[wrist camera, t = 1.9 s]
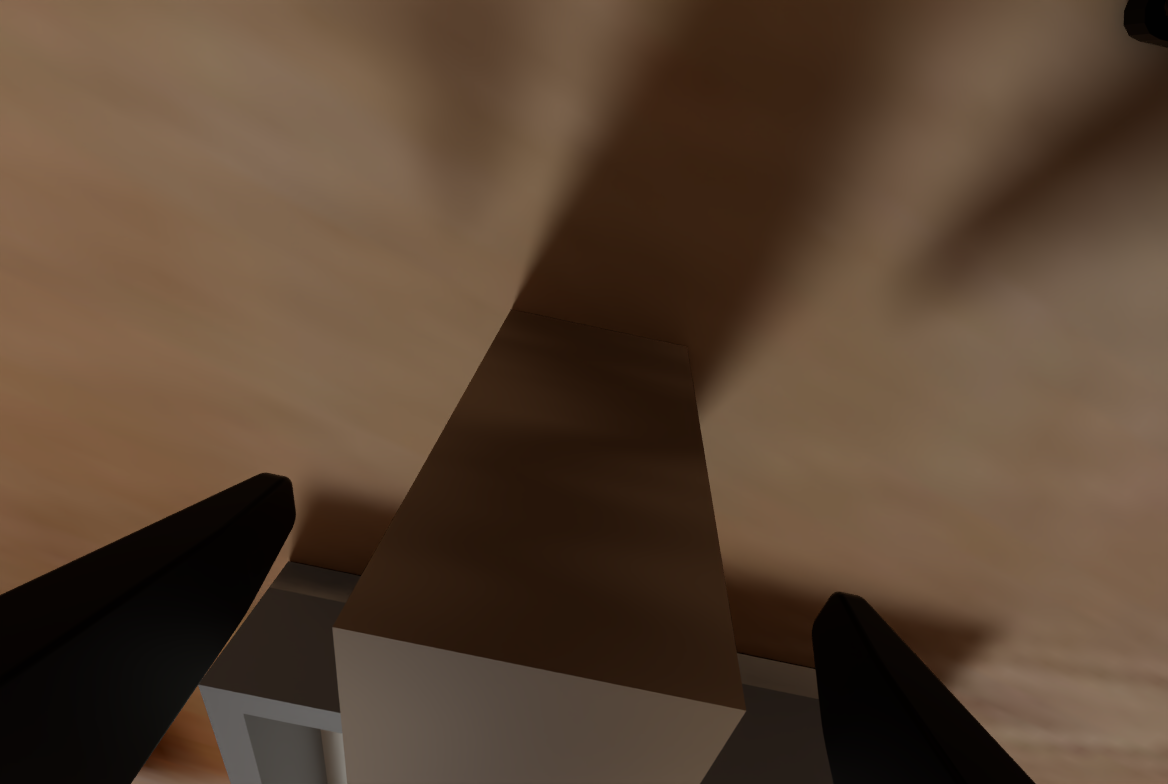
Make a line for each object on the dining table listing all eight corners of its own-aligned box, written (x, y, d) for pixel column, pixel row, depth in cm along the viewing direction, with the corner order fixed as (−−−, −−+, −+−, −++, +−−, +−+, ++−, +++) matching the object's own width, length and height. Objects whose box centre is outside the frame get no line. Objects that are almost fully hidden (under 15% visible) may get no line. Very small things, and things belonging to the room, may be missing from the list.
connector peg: (687, 346, 12) (745, 710, 5) (644, 481, 14) (645, 870, 7) (510, 309, 12) (332, 626, 5) (493, 450, 14) (350, 812, 7)
